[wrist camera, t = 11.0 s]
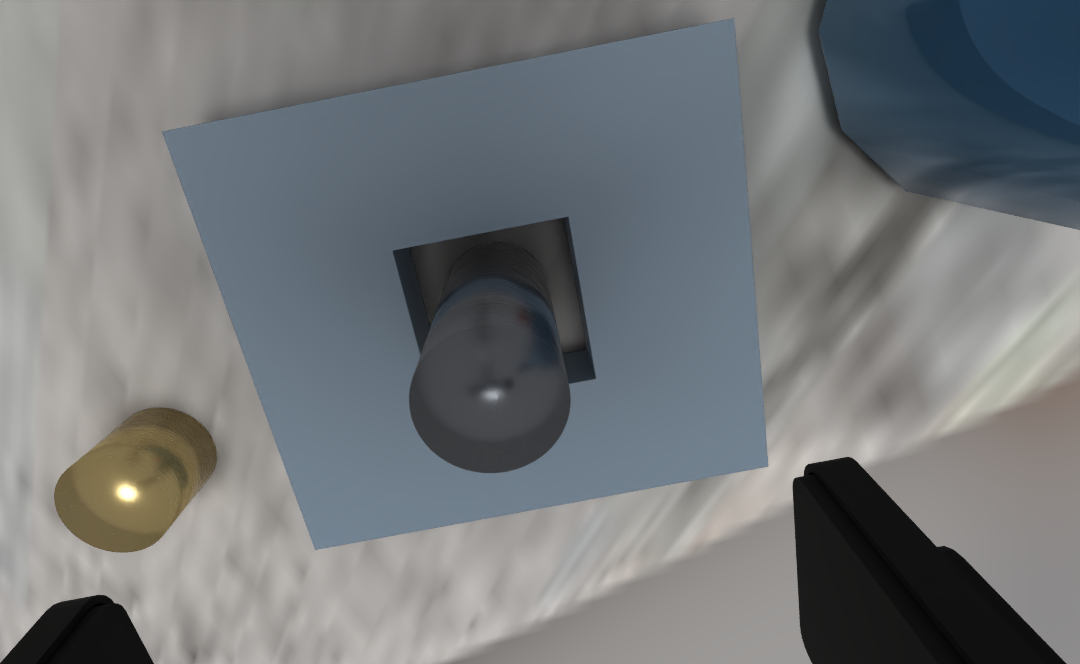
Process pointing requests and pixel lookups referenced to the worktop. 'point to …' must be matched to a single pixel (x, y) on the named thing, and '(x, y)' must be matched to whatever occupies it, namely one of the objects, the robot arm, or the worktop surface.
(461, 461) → the tall steel pin
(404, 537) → the worktop surface
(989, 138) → the wine bottle
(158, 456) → the short brass pin
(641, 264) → the sleeve block
